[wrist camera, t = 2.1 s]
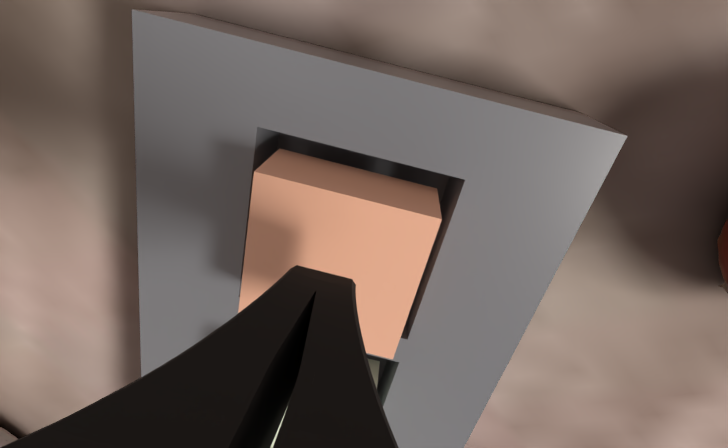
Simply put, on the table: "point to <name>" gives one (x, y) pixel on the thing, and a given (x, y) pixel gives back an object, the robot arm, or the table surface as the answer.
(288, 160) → the key terracotta
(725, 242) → the fruit
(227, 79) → the keypad
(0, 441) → the ceramic mug
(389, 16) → the table surface
